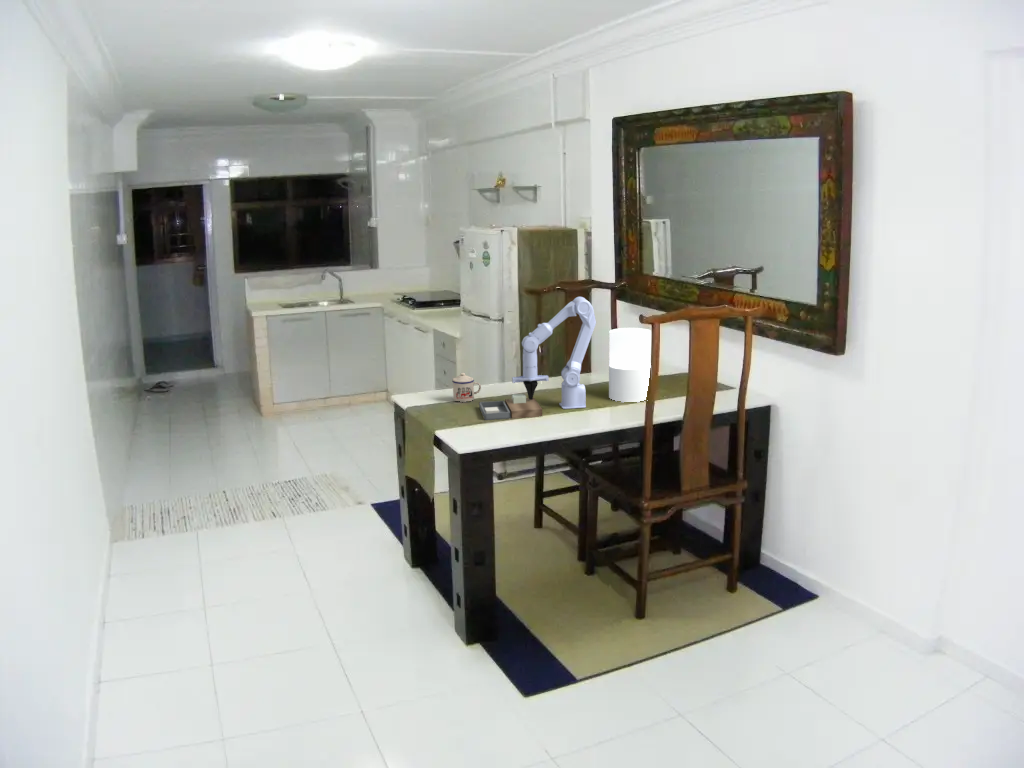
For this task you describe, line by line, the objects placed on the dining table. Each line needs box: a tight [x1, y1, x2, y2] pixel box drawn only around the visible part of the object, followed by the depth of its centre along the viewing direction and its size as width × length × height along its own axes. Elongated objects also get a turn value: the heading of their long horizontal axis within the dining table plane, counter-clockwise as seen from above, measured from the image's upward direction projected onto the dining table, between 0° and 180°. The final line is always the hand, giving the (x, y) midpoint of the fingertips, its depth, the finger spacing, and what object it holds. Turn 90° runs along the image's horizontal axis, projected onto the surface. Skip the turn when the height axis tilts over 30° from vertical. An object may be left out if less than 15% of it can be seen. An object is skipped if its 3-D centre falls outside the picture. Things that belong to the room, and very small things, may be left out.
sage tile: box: [511, 393, 527, 404], centre depth 338 cm, size 5×5×2 cm
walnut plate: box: [504, 397, 543, 419], centre depth 335 cm, size 12×18×3 cm, turn 9°
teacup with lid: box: [452, 372, 482, 403], centre depth 353 cm, size 12×9×12 cm
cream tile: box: [485, 407, 499, 413], centre depth 328 cm, size 5×5×2 cm
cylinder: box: [608, 327, 652, 403], centre depth 349 cm, size 17×17×28 cm
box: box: [478, 400, 512, 421], centre depth 333 cm, size 10×18×2 cm, turn 9°
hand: (530, 399), depth 339 cm, fingers closed
